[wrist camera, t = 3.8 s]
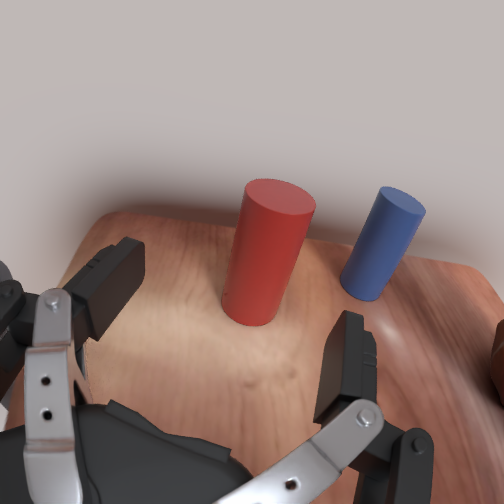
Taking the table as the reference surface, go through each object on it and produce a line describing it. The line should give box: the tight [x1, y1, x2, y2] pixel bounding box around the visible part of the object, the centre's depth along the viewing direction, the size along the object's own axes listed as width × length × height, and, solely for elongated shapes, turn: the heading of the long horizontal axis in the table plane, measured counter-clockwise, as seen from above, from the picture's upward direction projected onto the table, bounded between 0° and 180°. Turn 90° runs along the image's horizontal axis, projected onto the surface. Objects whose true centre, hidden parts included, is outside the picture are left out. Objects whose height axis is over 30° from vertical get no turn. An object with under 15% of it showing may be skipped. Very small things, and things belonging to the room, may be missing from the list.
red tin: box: [222, 179, 316, 326], centre depth 24 cm, size 5×5×11 cm
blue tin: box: [340, 187, 426, 301], centre depth 30 cm, size 5×5×11 cm
